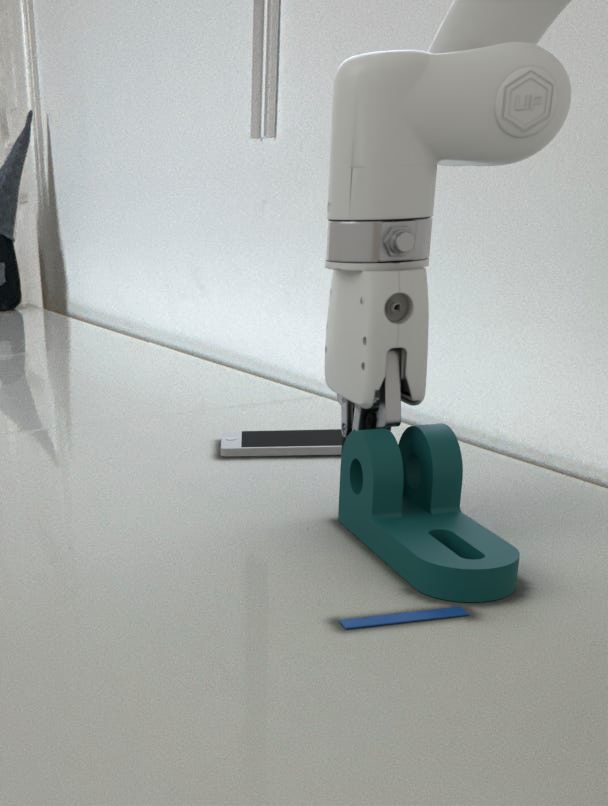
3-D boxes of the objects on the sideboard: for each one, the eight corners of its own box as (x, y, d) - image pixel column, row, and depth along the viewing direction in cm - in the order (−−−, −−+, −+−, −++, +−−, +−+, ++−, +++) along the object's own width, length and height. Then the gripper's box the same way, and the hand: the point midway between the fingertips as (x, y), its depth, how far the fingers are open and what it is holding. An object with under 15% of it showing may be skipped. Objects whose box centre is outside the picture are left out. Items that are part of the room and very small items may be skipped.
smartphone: (222, 439, 105) (222, 430, 104) (372, 436, 103) (373, 427, 102) (220, 457, 98) (220, 447, 98) (381, 454, 96) (381, 444, 96)
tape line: (460, 607, 63) (460, 606, 63) (469, 615, 62) (469, 613, 62) (338, 621, 62) (339, 620, 62) (345, 629, 61) (345, 627, 61)
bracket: (338, 520, 80) (342, 421, 76) (418, 512, 80) (426, 414, 77) (435, 606, 63) (446, 486, 60) (535, 596, 64) (551, 477, 61)
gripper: (472, 249, 67) (445, 510, 75) (386, 238, 81) (371, 460, 88) (365, 255, 66) (349, 519, 74) (297, 242, 80) (289, 467, 88)
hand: (361, 486), depth 81 cm, fingers closed
